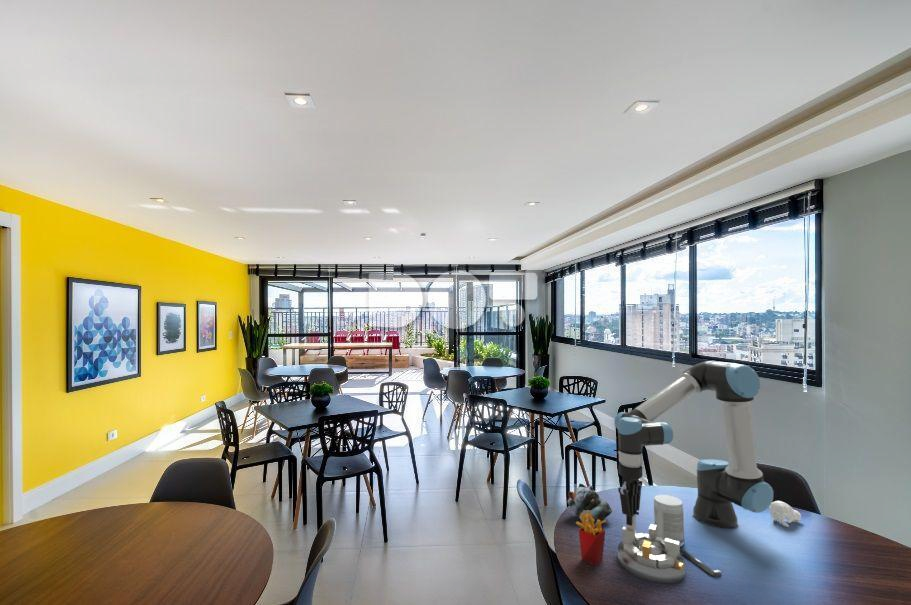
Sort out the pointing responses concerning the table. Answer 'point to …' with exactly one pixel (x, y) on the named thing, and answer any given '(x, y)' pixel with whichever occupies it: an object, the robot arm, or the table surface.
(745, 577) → the table surface
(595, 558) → the french fries
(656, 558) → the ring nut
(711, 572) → the pin spanner
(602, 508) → the lucky cat figurine
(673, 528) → the supplement tub
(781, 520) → the white animal figurine
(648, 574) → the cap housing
